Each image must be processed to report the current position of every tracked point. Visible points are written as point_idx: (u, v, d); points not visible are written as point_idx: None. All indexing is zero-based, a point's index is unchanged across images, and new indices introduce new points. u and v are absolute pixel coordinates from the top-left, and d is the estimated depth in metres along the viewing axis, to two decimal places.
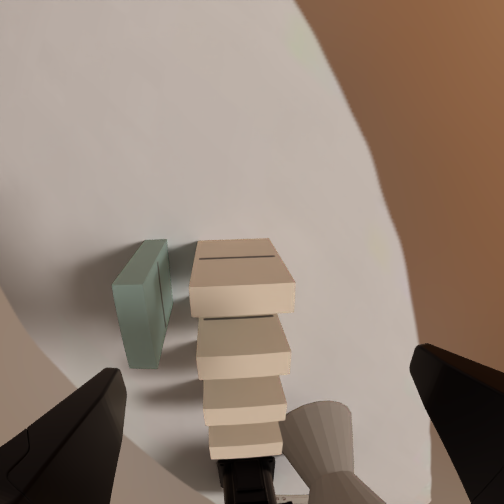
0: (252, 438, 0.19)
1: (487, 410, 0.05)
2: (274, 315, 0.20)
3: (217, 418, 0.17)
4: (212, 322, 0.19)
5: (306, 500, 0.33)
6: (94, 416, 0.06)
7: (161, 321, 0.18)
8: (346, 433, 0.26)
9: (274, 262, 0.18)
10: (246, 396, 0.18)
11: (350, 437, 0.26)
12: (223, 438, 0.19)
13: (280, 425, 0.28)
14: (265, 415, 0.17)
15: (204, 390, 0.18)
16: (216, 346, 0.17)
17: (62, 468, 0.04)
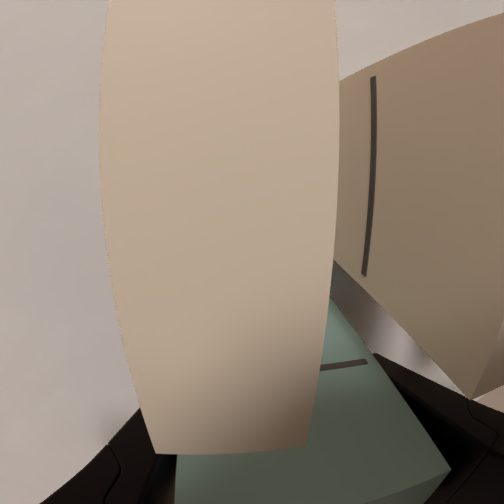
0: None
1: (430, 435, 0.05)
2: (372, 73, 0.06)
3: None
4: (375, 257, 0.06)
5: None
6: None
7: (345, 391, 0.07)
8: None
9: None
10: None
11: None
12: None
13: None
14: None
15: None
16: (455, 299, 0.04)
17: (159, 482, 0.04)
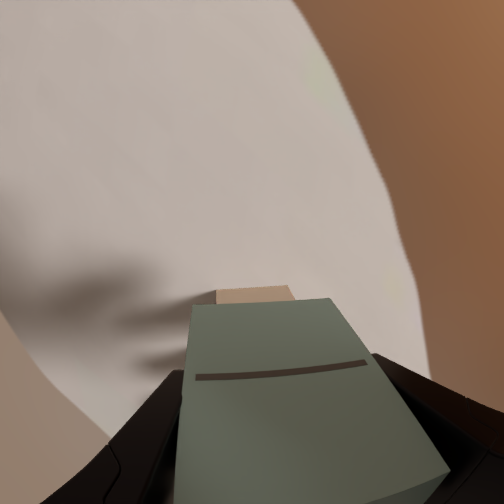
0: None
1: (430, 435, 0.05)
2: None
3: None
4: None
5: None
6: (178, 422, 0.06)
7: (344, 392, 0.07)
8: None
9: None
10: None
11: None
12: None
13: None
14: None
15: None
16: None
17: (159, 482, 0.04)
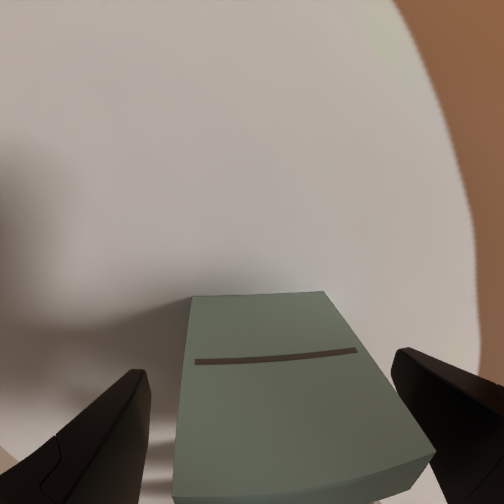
0: None
1: (467, 419, 0.05)
2: None
3: None
4: None
5: None
6: (125, 419, 0.06)
7: (335, 376, 0.07)
8: None
9: None
10: None
11: None
12: None
13: None
14: None
15: None
16: None
17: (96, 475, 0.04)
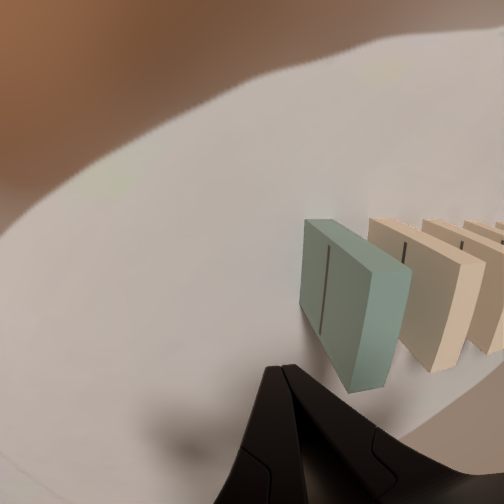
0: None
1: (325, 465, 0.05)
2: (462, 239, 0.14)
3: None
4: None
5: None
6: (293, 415, 0.06)
7: (335, 275, 0.13)
8: None
9: (417, 252, 0.13)
10: None
11: None
12: None
13: None
14: None
15: None
16: (482, 327, 0.12)
17: None
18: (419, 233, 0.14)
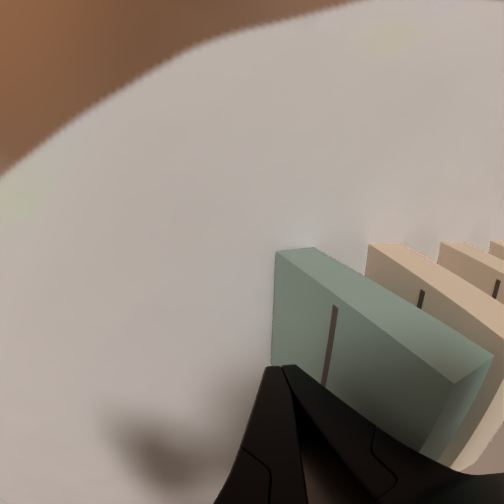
0: None
1: (326, 465, 0.05)
2: (498, 276, 0.09)
3: None
4: None
5: None
6: (294, 415, 0.06)
7: (351, 357, 0.07)
8: None
9: (441, 311, 0.08)
10: None
11: None
12: None
13: None
14: None
15: None
16: None
17: None
18: (442, 273, 0.09)
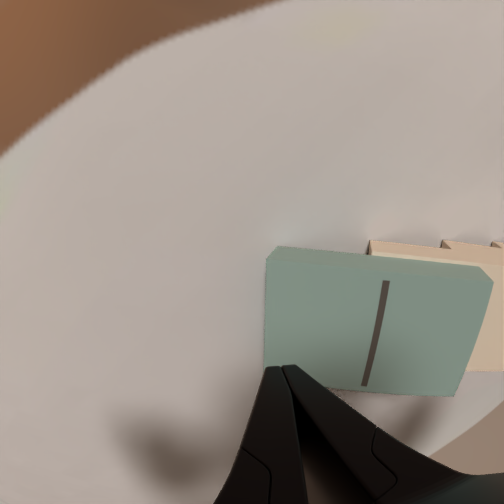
0: None
1: (325, 465, 0.05)
2: None
3: None
4: None
5: None
6: (294, 415, 0.06)
7: (409, 310, 0.09)
8: None
9: None
10: None
11: None
12: None
13: None
14: None
15: None
16: None
17: None
18: (452, 252, 0.11)
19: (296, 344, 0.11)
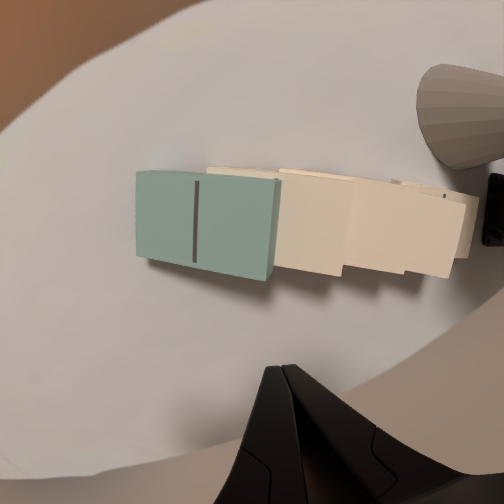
0: (470, 221, 0.20)
1: (325, 465, 0.05)
2: None
3: None
4: (347, 250, 0.17)
5: None
6: (294, 416, 0.06)
7: (214, 201, 0.16)
8: (462, 76, 0.15)
9: (296, 184, 0.16)
10: (446, 236, 0.17)
11: (470, 72, 0.14)
12: (464, 246, 0.21)
13: (444, 159, 0.19)
14: None
15: (426, 273, 0.18)
16: (392, 253, 0.17)
17: None
18: (274, 171, 0.17)
19: (152, 228, 0.17)
